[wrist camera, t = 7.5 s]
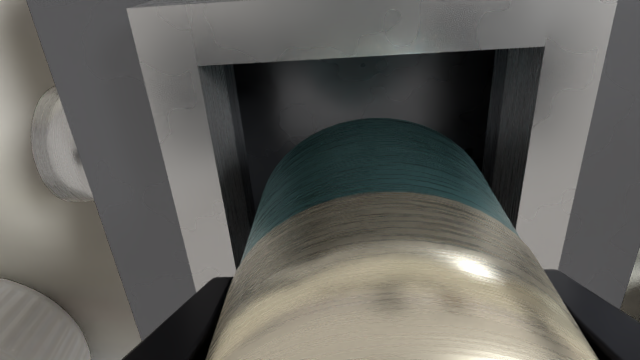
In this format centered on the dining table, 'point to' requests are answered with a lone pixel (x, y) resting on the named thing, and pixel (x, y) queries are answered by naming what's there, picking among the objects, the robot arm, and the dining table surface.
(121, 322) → the dining table surface
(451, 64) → the grey hollow block
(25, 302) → the ramekin
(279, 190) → the metal can
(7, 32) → the dining table surface
